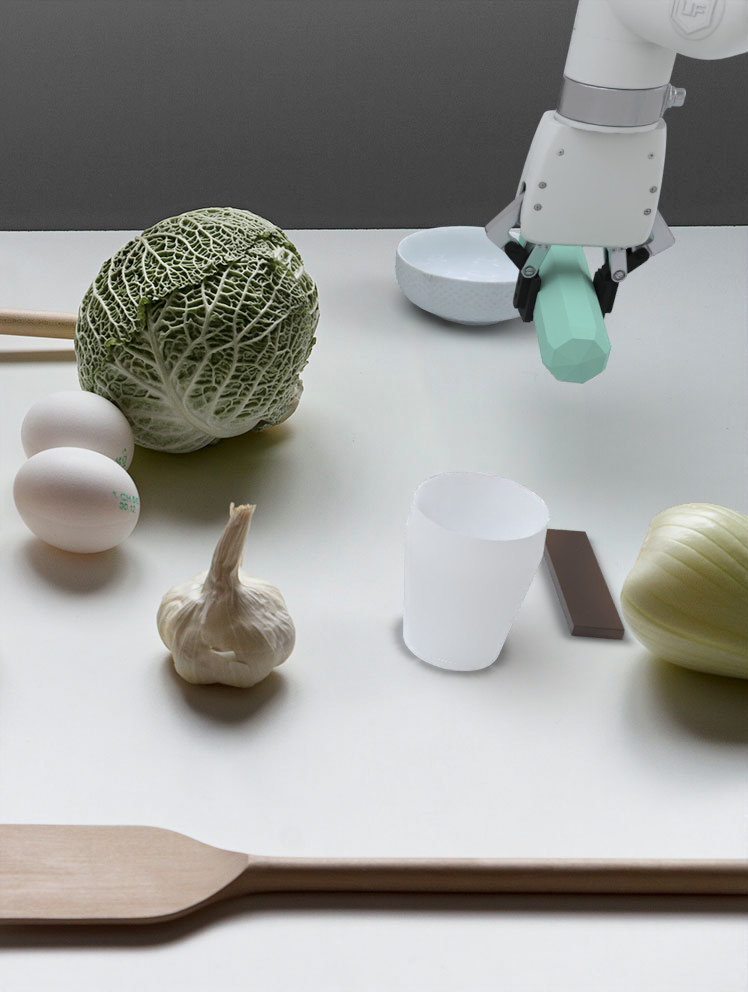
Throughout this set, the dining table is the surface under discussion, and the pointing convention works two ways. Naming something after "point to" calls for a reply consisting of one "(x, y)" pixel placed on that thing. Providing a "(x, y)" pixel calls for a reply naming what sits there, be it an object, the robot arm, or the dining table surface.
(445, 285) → the cereal bowl
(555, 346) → the container
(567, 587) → the walnut strip
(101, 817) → the dining table surface
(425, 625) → the cup
